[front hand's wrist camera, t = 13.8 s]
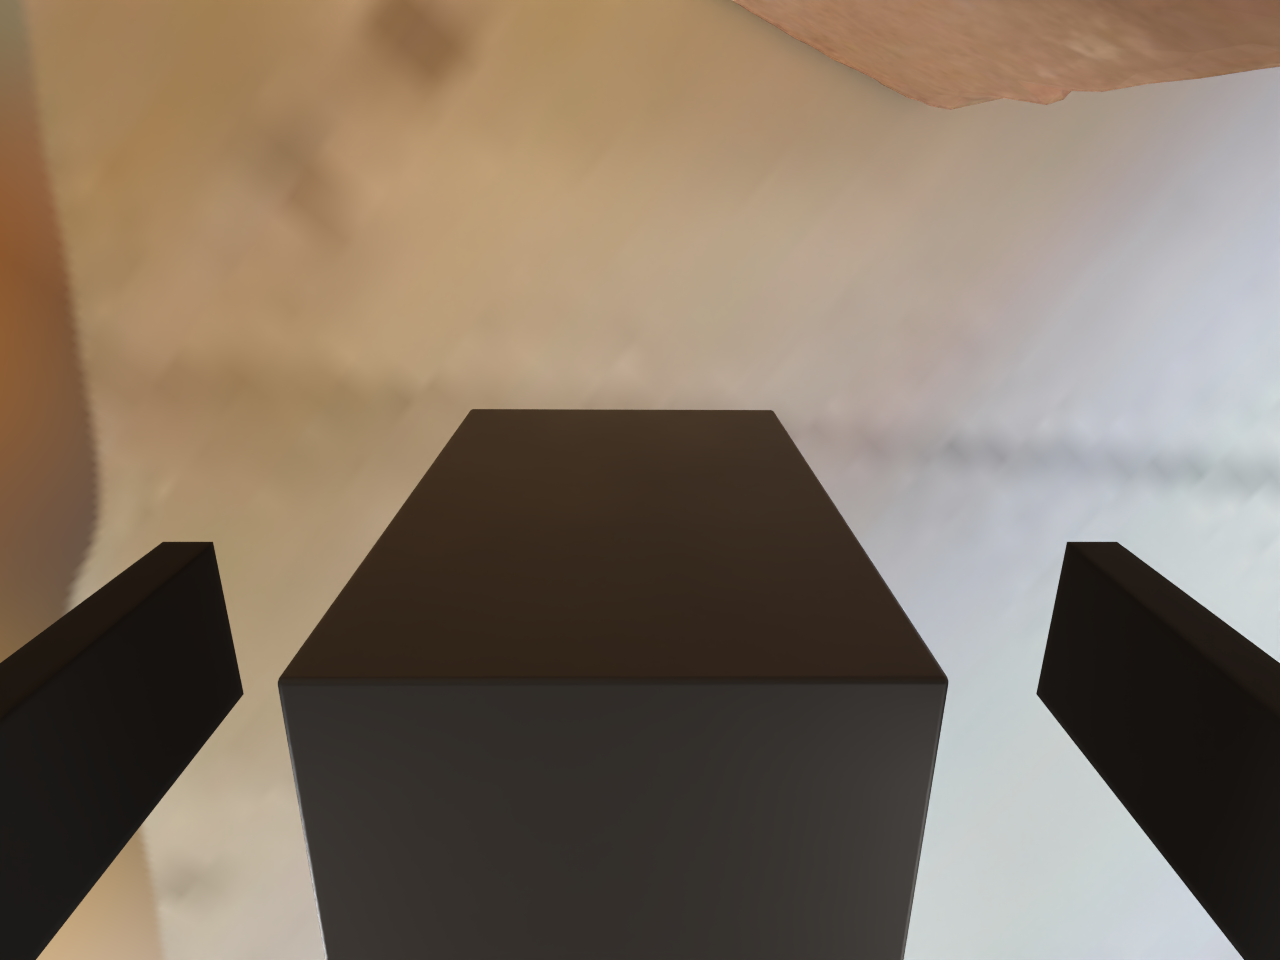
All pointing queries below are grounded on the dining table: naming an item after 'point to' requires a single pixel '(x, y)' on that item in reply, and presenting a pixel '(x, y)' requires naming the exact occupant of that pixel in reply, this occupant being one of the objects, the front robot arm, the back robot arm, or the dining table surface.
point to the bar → (615, 707)
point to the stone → (1031, 43)
